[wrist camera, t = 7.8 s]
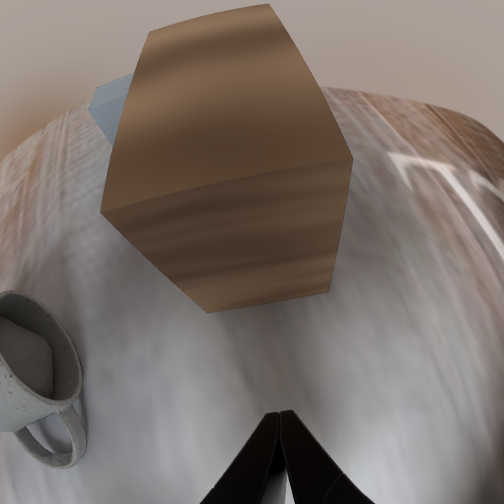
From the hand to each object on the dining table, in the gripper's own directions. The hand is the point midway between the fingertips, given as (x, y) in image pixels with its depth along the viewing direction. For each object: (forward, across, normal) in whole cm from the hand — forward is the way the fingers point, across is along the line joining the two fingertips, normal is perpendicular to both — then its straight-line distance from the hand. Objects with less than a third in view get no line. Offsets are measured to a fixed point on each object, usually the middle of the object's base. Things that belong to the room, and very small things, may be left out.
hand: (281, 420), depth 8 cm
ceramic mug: (+6, -16, -4) cm, 18 cm away
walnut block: (+14, 0, +4) cm, 14 cm away
